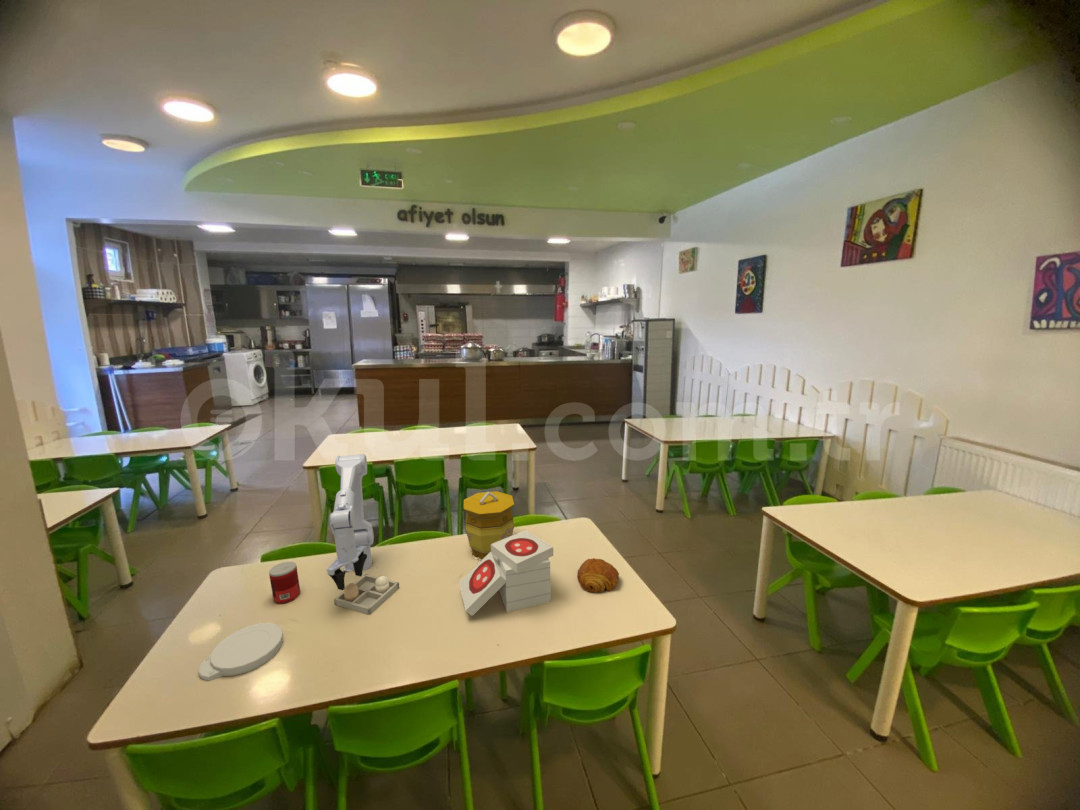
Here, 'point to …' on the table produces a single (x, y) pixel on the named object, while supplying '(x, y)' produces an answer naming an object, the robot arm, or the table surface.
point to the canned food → (284, 582)
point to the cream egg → (382, 584)
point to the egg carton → (367, 595)
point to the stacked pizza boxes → (510, 574)
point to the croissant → (597, 575)
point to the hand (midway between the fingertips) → (350, 582)
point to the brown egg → (351, 592)
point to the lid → (242, 651)
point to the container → (488, 520)
